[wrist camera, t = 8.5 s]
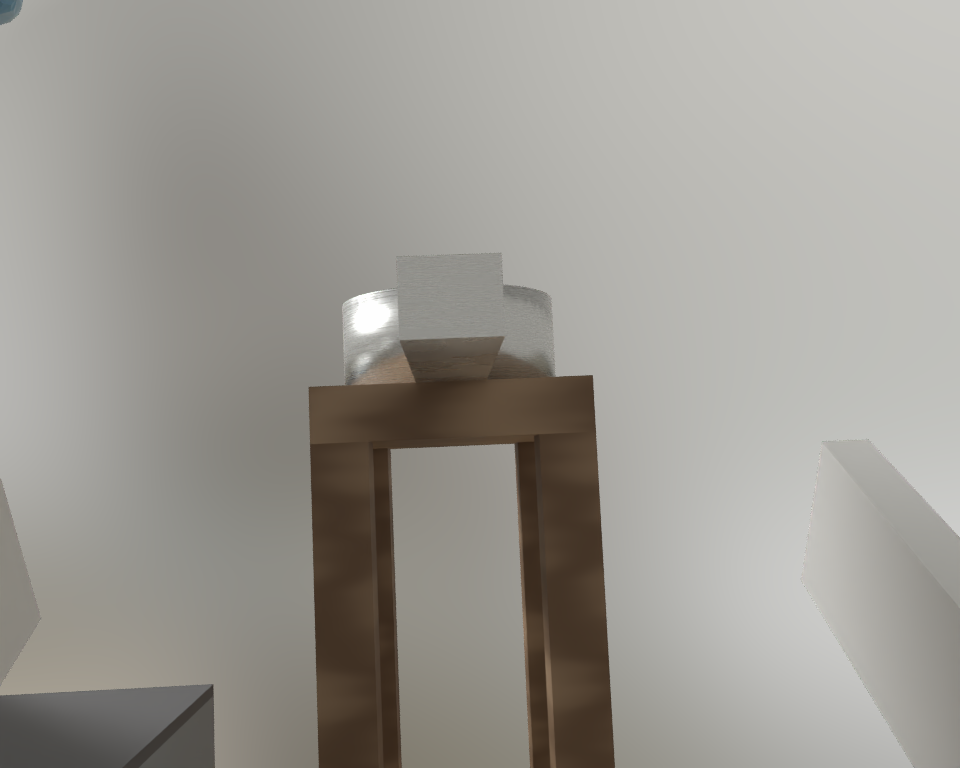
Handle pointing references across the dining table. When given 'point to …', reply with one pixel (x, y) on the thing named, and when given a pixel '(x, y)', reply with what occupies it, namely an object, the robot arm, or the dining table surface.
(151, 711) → the gray rectangular block
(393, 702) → the tall stand
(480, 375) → the silver saucepan
